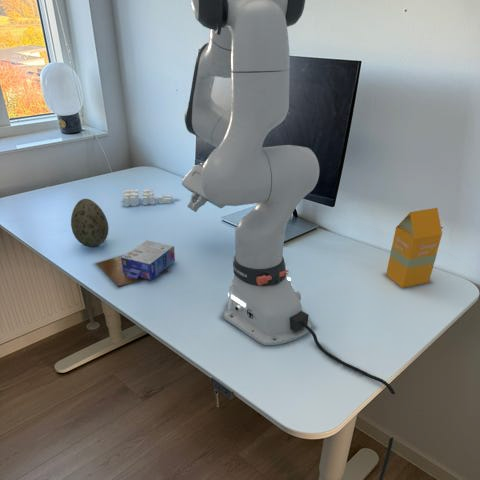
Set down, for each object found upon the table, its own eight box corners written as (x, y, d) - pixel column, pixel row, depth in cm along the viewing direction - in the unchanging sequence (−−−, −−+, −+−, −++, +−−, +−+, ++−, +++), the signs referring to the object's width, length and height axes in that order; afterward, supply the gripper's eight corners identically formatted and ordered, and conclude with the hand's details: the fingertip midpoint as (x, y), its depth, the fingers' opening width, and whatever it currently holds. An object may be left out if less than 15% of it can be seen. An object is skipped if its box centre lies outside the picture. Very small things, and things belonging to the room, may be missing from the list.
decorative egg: (94, 235, 151) (85, 190, 142) (118, 242, 146) (111, 197, 138) (68, 248, 143) (57, 201, 135) (93, 256, 139) (84, 208, 130)
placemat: (143, 250, 142) (143, 249, 142) (167, 271, 131) (167, 270, 131) (96, 264, 135) (96, 262, 135) (118, 287, 124) (118, 286, 124)
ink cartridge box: (148, 256, 138) (117, 277, 128) (146, 239, 135) (114, 259, 125) (176, 262, 135) (146, 285, 124) (174, 245, 132) (144, 266, 121)
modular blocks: (124, 206, 171) (122, 196, 169) (124, 200, 177) (123, 190, 175) (177, 203, 175) (176, 192, 172) (176, 196, 180) (175, 186, 178)
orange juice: (385, 274, 130) (399, 206, 118) (411, 269, 132) (427, 202, 121) (402, 288, 124) (419, 218, 112) (429, 282, 126) (448, 213, 115)
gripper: (193, 155, 139) (167, 193, 140) (231, 172, 125) (202, 214, 126) (206, 167, 143) (181, 204, 144) (244, 185, 130) (216, 226, 131)
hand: (191, 209), depth 135 cm, fingers closed
